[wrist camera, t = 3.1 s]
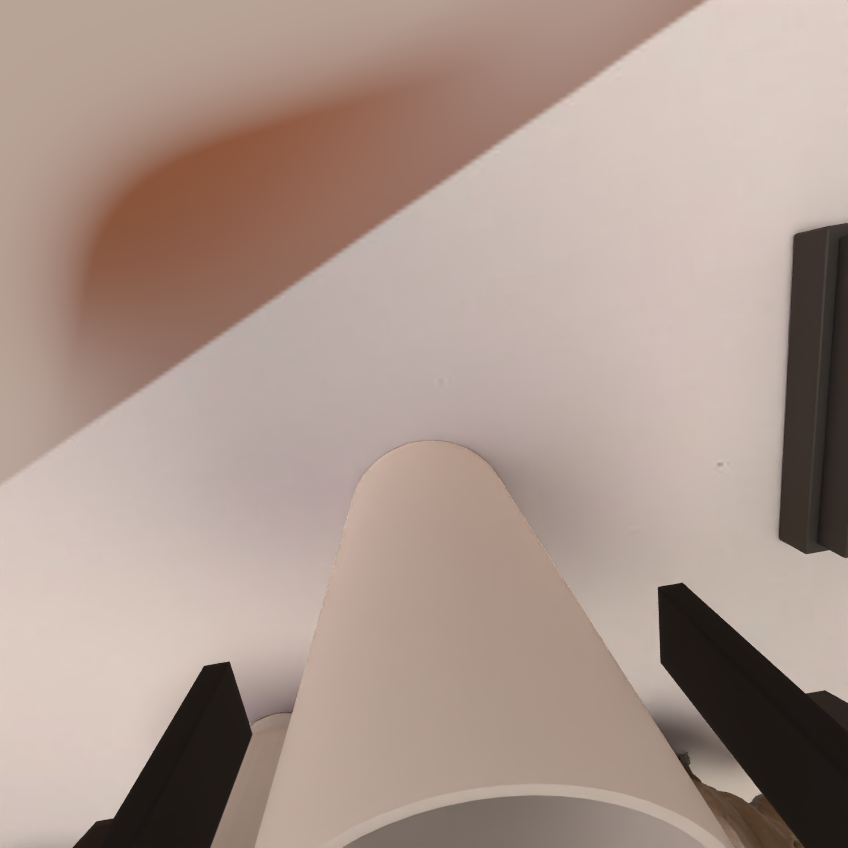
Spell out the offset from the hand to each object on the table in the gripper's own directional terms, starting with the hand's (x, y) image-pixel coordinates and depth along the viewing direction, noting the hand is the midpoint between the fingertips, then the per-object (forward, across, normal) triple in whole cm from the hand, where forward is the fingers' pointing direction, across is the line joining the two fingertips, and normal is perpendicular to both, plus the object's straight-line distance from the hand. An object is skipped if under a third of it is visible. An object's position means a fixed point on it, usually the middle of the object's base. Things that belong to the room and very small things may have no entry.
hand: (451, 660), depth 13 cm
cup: (+10, 0, 0) cm, 10 cm away
